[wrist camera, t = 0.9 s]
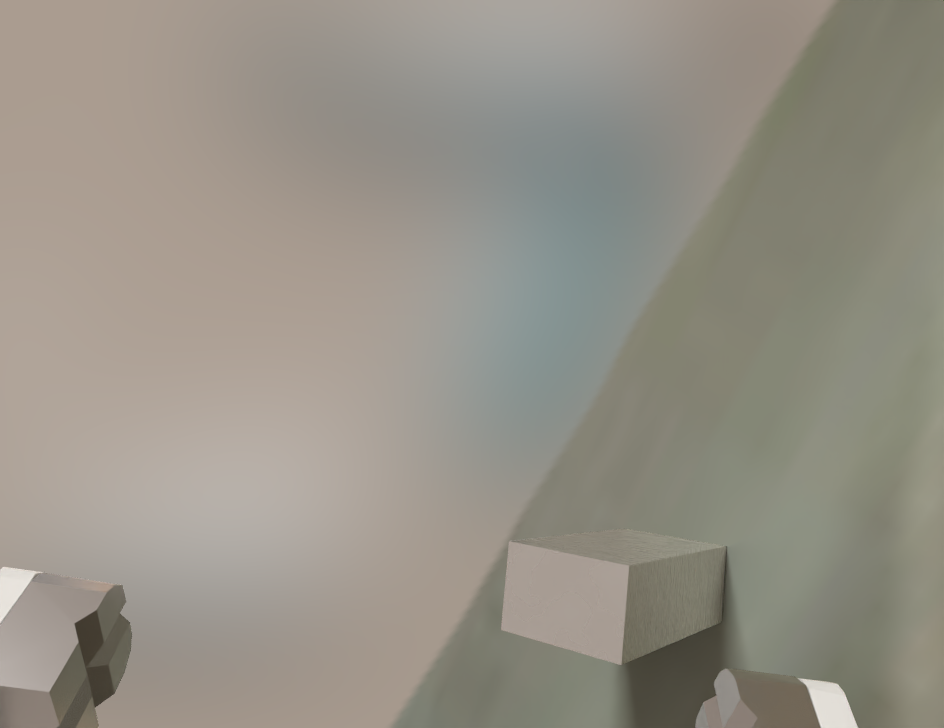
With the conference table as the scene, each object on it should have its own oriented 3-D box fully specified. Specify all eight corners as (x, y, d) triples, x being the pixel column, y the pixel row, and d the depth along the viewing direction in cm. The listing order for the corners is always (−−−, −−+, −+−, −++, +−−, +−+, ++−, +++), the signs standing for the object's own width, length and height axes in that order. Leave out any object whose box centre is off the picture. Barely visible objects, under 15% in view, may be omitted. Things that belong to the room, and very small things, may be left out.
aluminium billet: (726, 546, 41) (629, 565, 32) (721, 622, 41) (621, 665, 31) (624, 528, 45) (509, 541, 35) (618, 598, 44) (501, 629, 35)
